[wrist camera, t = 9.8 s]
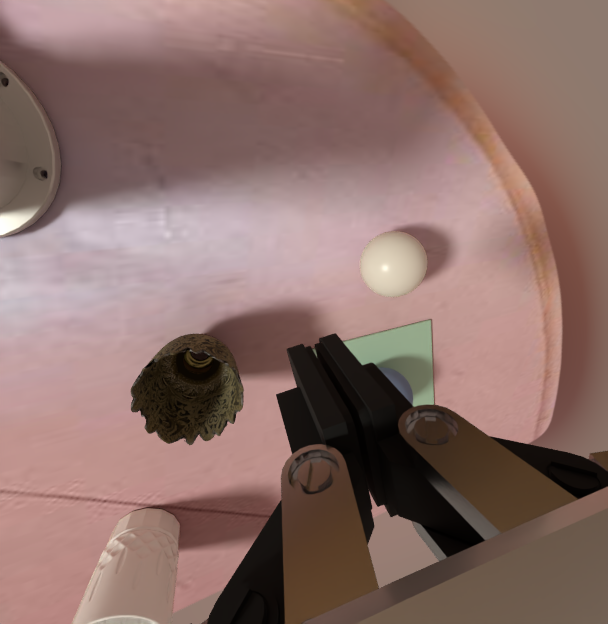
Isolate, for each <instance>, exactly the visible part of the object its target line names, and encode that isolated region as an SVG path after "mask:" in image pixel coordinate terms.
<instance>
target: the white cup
mask: <svg viewBox="0 0 608 624" xmlns="http://www.w3.org/2000/svg"><path fill="white" fill-rule="evenodd" d="M179 538H180V523H179V522H178V521H177V519H176V518H175V516H174V515H173V514H171V513H169V512H167V511H165V510H163V509H154V508H145V509H140V510H136V511H132V512H131V513H129V514H128V515H126V516H124V517H123V518H121V519H120V520H119V522H118V523H117V525H116V527H115V528H114V530H113V532H112V534H111V537H110V539H109V541H108V544H107V546H106V548H105V549H104V551H103V553H102V555H101V557H100V560H99V562H98V564H97V566H96V568H95V570H94V573H93V575H92V577H91V579H90V582H89V584H88V586H87V589H86V591H85V593H84V596H83V598H82V600H81V603H80V605H79V607H78V610H77V612H76V614H75V617H74V619H73V621H72V624H171V621H172V613H173V604H174V596H175V587H176V578H177V569H178V568H177V564H178V557H179V553H178V546H179Z"/></svg>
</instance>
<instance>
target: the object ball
mask: <svg viewBox="0 0 608 624" xmlns="http://www.w3.org/2000/svg"><path fill="white" fill-rule="evenodd" d="M379 369H380V370H381V371H382V373H383V374H384V375H385V376H386V377H387V378H388V379H389V380H390V381H391V382H392V383H393V384H394V386H395V387H396V388H397V389H398V390H399V391H400V392H401V393H402V394H403V395H404V396H405V398H406V399H407V400H408V401H409V402H410V403H411V404H412V405H413V392H412V388H411V386H410V384H409V382H408V381H407V379H406V378H405V377H404V376H403V375H402V374H400V373H399V372H397V371H396V370H393V369H390V368H384V367H380V368H379Z"/></svg>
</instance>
